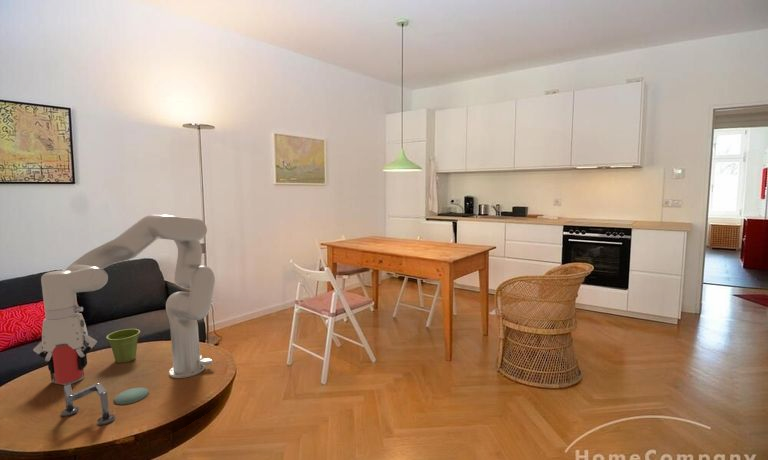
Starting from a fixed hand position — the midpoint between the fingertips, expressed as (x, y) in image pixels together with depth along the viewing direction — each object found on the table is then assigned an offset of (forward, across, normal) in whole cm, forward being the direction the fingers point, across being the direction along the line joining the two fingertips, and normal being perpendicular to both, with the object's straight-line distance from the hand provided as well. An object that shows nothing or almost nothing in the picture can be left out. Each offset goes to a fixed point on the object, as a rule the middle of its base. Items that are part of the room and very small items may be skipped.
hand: (68, 369), depth 120 cm
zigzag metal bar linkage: (+17, -3, -4) cm, 18 cm away
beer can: (+3, 0, 0) cm, 3 cm away
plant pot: (+18, 0, -48) cm, 51 cm away
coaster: (+18, -12, -13) cm, 25 cm away
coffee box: (+18, +15, -34) cm, 41 cm away
